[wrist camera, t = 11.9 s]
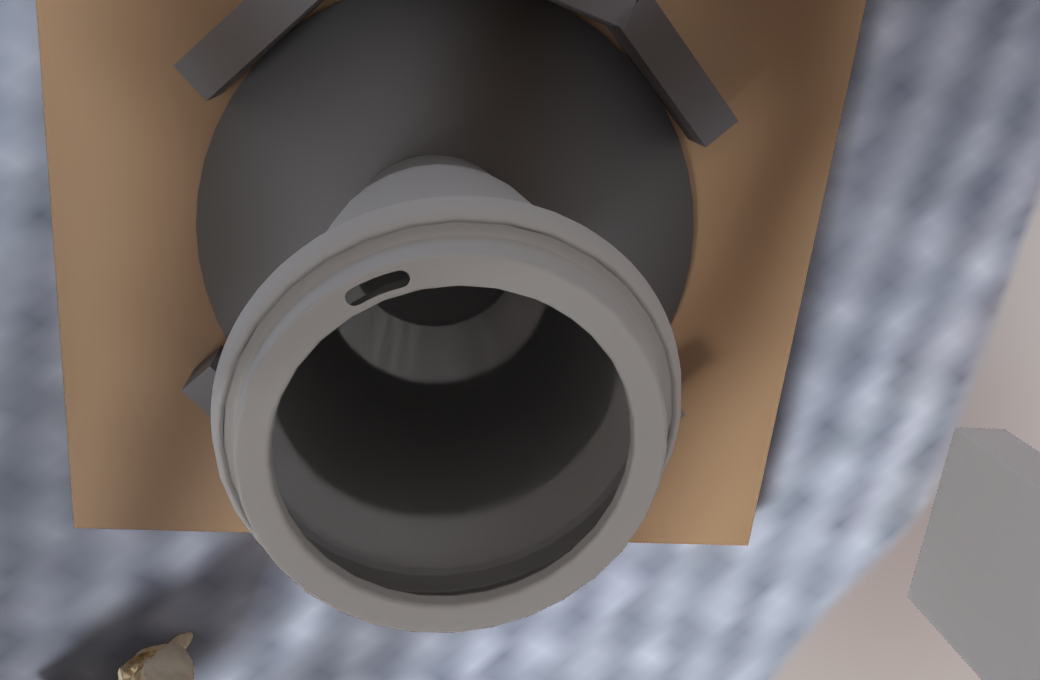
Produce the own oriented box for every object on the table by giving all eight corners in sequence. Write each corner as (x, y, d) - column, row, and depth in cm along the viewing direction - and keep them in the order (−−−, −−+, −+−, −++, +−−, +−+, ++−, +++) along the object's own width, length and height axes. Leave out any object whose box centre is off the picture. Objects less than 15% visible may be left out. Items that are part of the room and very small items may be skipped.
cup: (516, 68, 22) (623, 131, 11) (601, 305, 25) (761, 554, 13) (250, 175, 22) (89, 344, 11) (361, 400, 25) (320, 724, 14)
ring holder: (88, 506, 26) (54, 558, 24) (42, -186, 20) (-9, -214, 18) (734, 525, 29) (765, 573, 27) (861, -77, 23) (916, -88, 21)
